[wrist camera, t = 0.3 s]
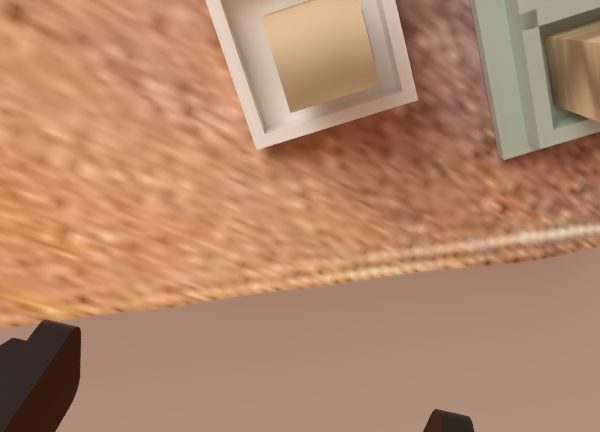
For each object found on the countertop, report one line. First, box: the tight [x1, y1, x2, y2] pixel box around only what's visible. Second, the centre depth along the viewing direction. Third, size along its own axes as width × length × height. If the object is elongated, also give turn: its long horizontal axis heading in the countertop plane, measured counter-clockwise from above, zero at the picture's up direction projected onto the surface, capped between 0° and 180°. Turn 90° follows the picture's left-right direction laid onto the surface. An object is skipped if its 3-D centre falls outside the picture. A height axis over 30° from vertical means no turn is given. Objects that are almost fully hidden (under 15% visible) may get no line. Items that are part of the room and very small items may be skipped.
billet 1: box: [261, 0, 380, 113], centre depth 31 cm, size 4×5×10 cm
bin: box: [206, 0, 418, 150], centre depth 35 cm, size 11×11×2 cm
